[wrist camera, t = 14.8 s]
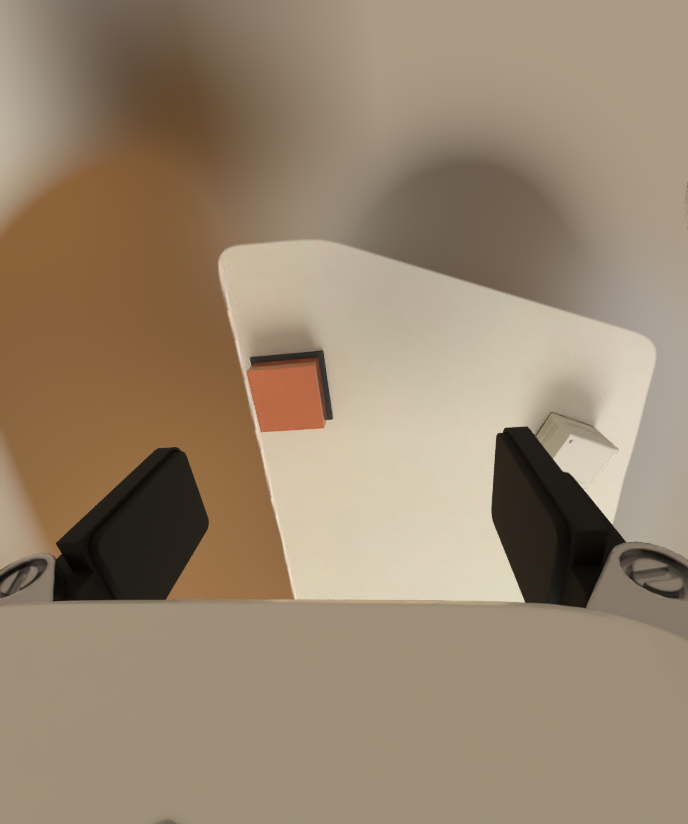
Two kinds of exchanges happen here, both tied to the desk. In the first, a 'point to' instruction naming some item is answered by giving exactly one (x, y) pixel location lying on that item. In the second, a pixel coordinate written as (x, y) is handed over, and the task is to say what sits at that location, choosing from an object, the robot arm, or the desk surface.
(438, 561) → the desk surface
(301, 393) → the orange flat block
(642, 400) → the desk surface
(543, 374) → the desk surface
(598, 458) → the small box
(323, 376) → the mat
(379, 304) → the desk surface
